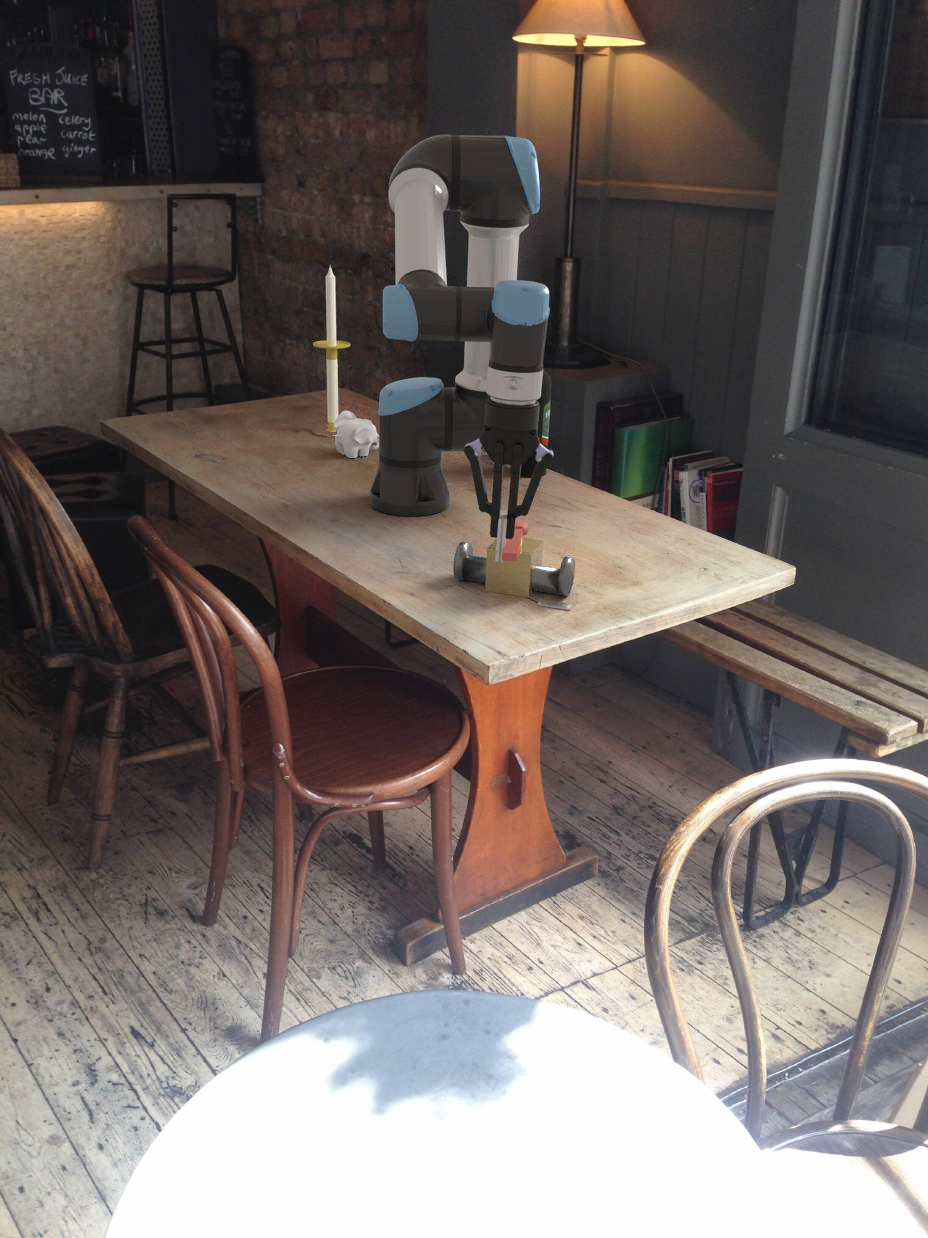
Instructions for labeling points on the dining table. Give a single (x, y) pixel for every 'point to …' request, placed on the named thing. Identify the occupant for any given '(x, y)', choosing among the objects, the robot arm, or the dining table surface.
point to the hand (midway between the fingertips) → (500, 558)
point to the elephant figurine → (354, 435)
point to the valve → (516, 572)
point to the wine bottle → (540, 426)
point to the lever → (514, 542)
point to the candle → (331, 351)
